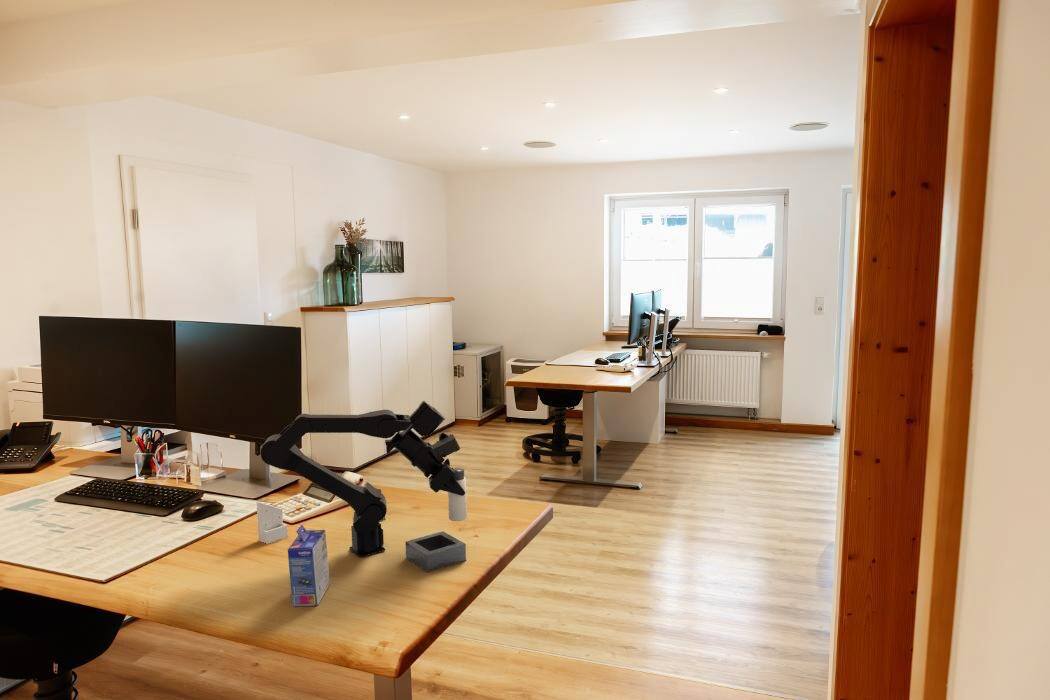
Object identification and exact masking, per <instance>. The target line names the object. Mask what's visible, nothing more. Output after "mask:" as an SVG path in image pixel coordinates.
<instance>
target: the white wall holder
mask: <svg viewBox="0 0 1050 700" xmlns="http://www.w3.org/2000/svg"><path fill="white" fill-rule="evenodd" d="M256 516H257V517H256V518H257V533H258V542H260V541H262V542H261V543H263V542H264V543H263V544H265V543H266V544H265V545H269V544H271V543H274V542H277V541H280V540H283V539H286V538H288V537H289V536H288V533H289V532H288V524H286V523H284V519H283V517H284V515H283V509H282V508H279V507H276V506H273V505H270V504H267V503H266V504H265V503H262V502H259V501H256Z"/></svg>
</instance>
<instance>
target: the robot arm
mask: <svg viewBox="0 0 1050 700" xmlns="http://www.w3.org/2000/svg"><path fill="white" fill-rule="evenodd" d="M445 420H446V417H444V415H442V413H441V412H440V411H438V409H436V407H435V406H432V405H430V404H429V403H427V401H425V400H423V401H421V402H420V404H419V405H418V407H417V408H416V409H415V410H414V411H413V412H411V414H397V413H394V411H392V410H391V409H381V410H374V411H369V412H365V413H361V414H308V413H301V414H299V415H298V416H296V417H295V419H294V420H293V421H292V422H291V423H290V424H289V425H287V426H286V427H284V429H283V430H282V431H280V432H279V433H277V434H272V435H270V436H269V437H268V438H267V439H266V440H265V441H264V443H263V444H262V446H261V449H260V458H261V460H262V461H263V462H264V463H265V464H266V465H269V466H272V467H274V468H277V469H279V470H284V471H287V472H288V471H289V472H294V473H295V474H298V476H301V477H303V478H304V479H306V480H308V481H309V482H311V483H313V484H314V485H316V486H318V487H320V488H322V489H324V490H325V491H327V492H328V493H330V494H332V495H334V496H336V497H337V498H339V499H341V500H342V501H344V502H346V503H347V504H348V505H349V506H350V507H351V508H352V509H353V516H352V517H353V518H352V525H351V546H350V547H349V549H348V550H350V551H351V553H354V554H355V555H356V556H358V557H359V558H364V557H368V556H370V555H375V554H377V553H381V552H385V551H386V548H385V547H384V544H385V542H384V529H383V528H382V523H380V522H381V521H383V520H382V519H383V518H384V517H385V518H386V515H387V510H388V509H387V500H386V496H385V494H383V493H382V489H381V488H376V487H374V486H373V485H372V484H371V483H369V482H366V483H365V485H364V486H361V485H356V484H355V483H353V482H351V481H349V480H348V479H346V478H345V477H343V476H341V475H339V474H337V473H336V472H334V471H332V470H330V469H329V468H327V467H326V466H323V465H322V464H320V463H319V462H317V461H315V460H314V459H312V458H311V457H309V456H307V455H305V454H304V452H302V450H301V449H300V448H299V446H297V445H296V444H297V442H299V441H300V440H301V439H302V437H304V436H305V435H306V434H308V433H309V434H319V433H320V434H333V433H335V434H338V433H339V434H342V433H344V434H345V433H346V434H347V433H349V434H351V433H352V434H355V433H356V434H362V435H364V436H365V435H366V436H368V437H373V438H380V439H385V440H384V443H385V452H386V454H390V453H391V452H392V451H393V450H394V449H395V450H396V451H397V452H399V453H400V454H401V455H402V456H403V457H404V458H406V459H407V460H408V461H409V462H410V464H411V466H412V467H414V468H415V467H416V468H417V469H418V470H419V471H420V472H421V473H423V476H424V477H425V478H426V479H428V485H429V488H430V489H431V491H433V492H434V493H436V494H437V493H439V491H442V492H447V493H448V492H450V493H454V494H457V495H461V496H463V495H464V494H465V493H466V494H467V491H466V492H465V491H464V490H463V488H462V487H461V486H460V484H459V483H458V482H457V481H456V479H455V478H454V470H453V467H452V466H451V462H450V459H449V458H447V456H449V455H451V454H454V453H456V452H459V451H460V450H461V447H460V445H459V443H458V441H457V439H456V437H455V436H454V434H452V433H449V434H448V433H446V432H445V431H443V432H441V433H439V434H438V440H437V441H436V442H435V443H433V444H432V443H430V442H429V441H428V442H427V441H425V440H423V439H422V438H421V437H427V436H428V437H430V436H431V435H432V434H433V432H435V431H436V430H437V429H438V428H439V426H441V424H443V422H444V421H445ZM413 430H414V431H413ZM415 432H416V433H415ZM417 434H418V435H417ZM420 436H421V437H420ZM445 458H446V460H445Z"/></svg>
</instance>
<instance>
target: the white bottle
mask: <svg viewBox="0 0 1050 700" xmlns="http://www.w3.org/2000/svg"><path fill="white" fill-rule="evenodd" d="M452 468H453V467H452ZM453 470H454V478H455V479H456V481H457V482H458V483H459V484H460V486H461V487H462V488H463V490H464V491H465V492H466V493H465V494H464V495H463V496H461V495H457V494H454V493H450V492H447V496H448V497H447V498H448V520H449V521H452V522H462V521H465V520H466V519H467V518H468V514H467V512H468V511H467V510H468V509H467V508H468V507H467V506H468V502H467V477H466V476H465V468H461V467H456V468H453Z"/></svg>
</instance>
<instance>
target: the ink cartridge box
mask: <svg viewBox="0 0 1050 700" xmlns="http://www.w3.org/2000/svg"><path fill="white" fill-rule="evenodd" d="M326 532H327V531H326V530H325V529H311V530H310V529H309V530H307V529H306V528H305V527H304V525H303V524H301V525H300V526H299V527H298V528H297V530H296V534H297V537H296V538H295V539H294V540H293V542H292V543H291V544H290V546H289V547H288V548H287V557H288V558H287V559H288V560H287V561H288V571H289V579H290V580H289V581H290V582H289V583H290V592H291V601H292V606H293V607H316V606H318V605H319V604H320V602H321V600H322V599H323V596H324V595H325V593H326V591H327V589H328V587H329V586H330V573H329V572H330V571H329V562H328V561H329V557H328V547H327V546H328V545H327V534H326Z"/></svg>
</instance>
